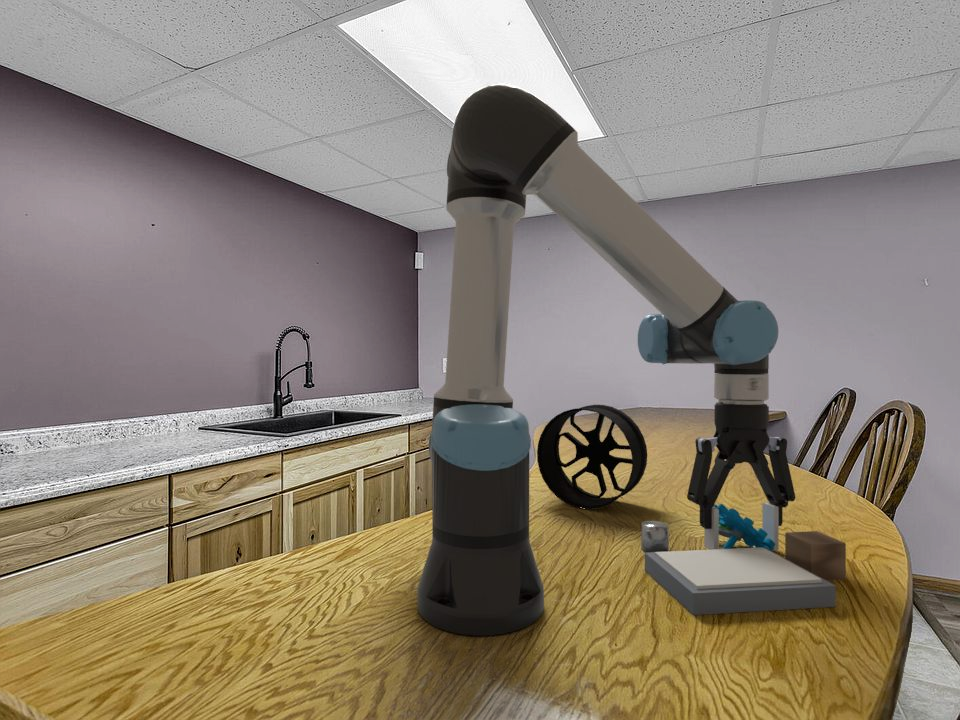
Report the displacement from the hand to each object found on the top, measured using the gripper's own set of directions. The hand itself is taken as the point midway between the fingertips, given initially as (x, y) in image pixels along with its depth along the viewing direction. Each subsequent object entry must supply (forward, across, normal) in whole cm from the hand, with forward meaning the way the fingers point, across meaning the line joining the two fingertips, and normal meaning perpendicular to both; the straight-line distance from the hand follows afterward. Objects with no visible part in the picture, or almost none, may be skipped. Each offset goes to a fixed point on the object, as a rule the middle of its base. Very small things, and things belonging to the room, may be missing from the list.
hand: (741, 547), depth 81 cm
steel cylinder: (+1, -13, +2) cm, 13 cm away
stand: (0, -9, -12) cm, 15 cm away
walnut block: (+1, +5, -9) cm, 10 cm away
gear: (+1, 0, 0) cm, 1 cm away
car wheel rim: (+1, -14, +29) cm, 32 cm away
